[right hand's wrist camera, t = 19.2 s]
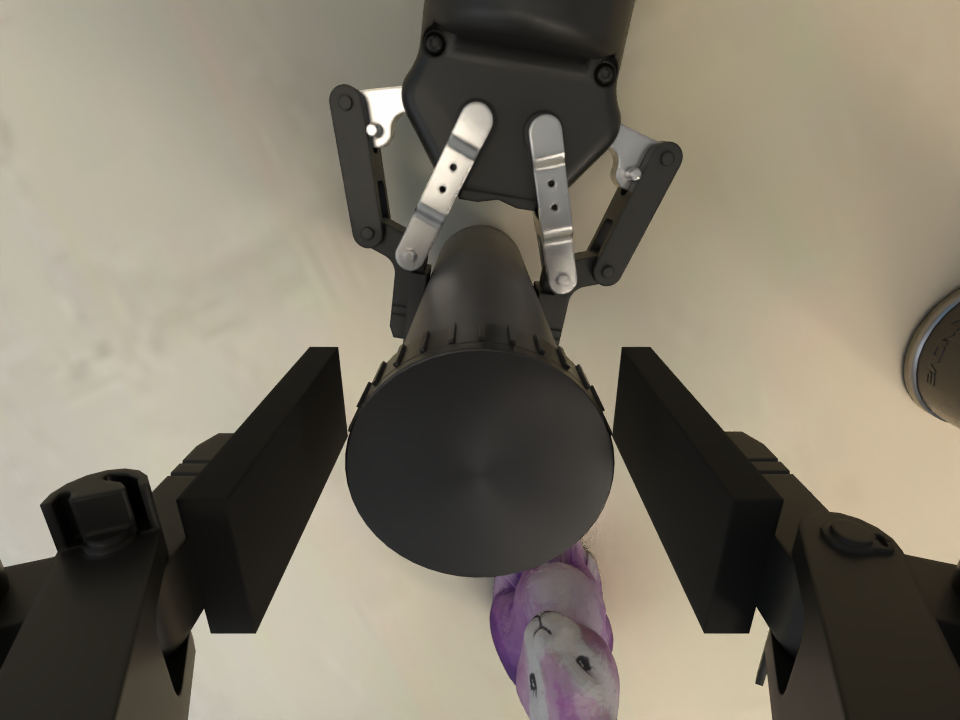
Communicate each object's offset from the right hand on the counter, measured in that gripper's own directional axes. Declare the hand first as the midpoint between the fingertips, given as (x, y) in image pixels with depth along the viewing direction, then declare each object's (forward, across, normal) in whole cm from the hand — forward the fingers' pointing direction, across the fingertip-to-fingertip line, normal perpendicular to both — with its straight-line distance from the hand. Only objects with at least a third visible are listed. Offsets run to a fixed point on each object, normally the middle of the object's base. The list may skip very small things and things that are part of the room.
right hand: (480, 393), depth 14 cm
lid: (-4, 0, 0) cm, 4 cm away
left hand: (+10, 0, -3) cm, 10 cm away
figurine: (+16, +4, -22) cm, 28 cm away
